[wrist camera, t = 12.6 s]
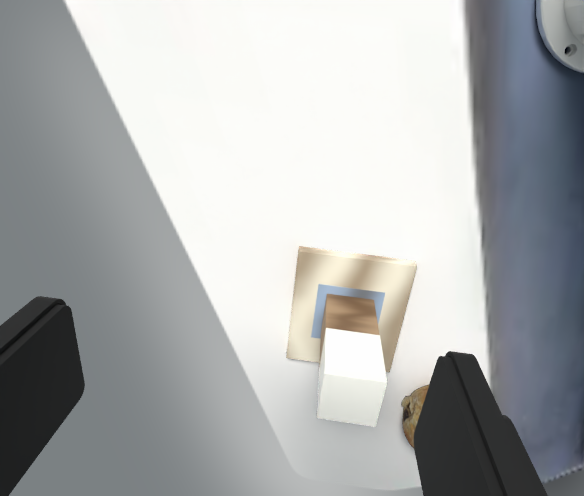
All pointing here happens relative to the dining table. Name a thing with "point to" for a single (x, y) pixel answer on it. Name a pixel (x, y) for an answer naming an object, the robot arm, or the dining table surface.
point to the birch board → (347, 282)
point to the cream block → (351, 378)
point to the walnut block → (348, 316)
